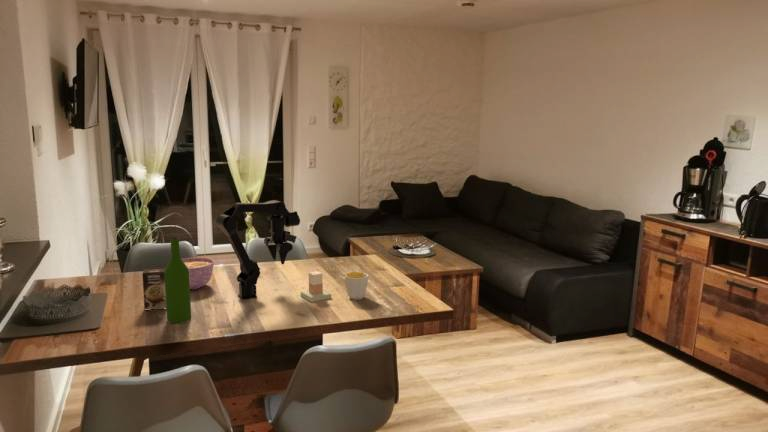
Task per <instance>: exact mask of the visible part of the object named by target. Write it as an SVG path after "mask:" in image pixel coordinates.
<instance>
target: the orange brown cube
mask: <svg viewBox="0 0 768 432" xmlns="http://www.w3.org/2000/svg"><path fill="white" fill-rule="evenodd" d="M323 285H324V283H322V284H316V285H312V284H311V283H309V282H308V290H309V293H311V294H313V295H316V294H321V293H323V290H324V286H323Z"/></svg>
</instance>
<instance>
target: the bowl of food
mask: <svg viewBox="0 0 768 432" xmlns="http://www.w3.org/2000/svg"><path fill="white" fill-rule="evenodd" d="M181 260H182V261H183V262H184V263H185V265H186V266H187V267H188V270H189V285H190V289H192V290H198V289H200V287H201V288H202V287H203V286H205V285H207V284H208V283H209V282H210V280H211V279H212V275H213V270H214V265H215V260H214V259H211V258H209V257H186V258H185V257H184V258H181ZM197 288H198V289H197Z"/></svg>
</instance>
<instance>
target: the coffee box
mask: <svg viewBox="0 0 768 432" xmlns="http://www.w3.org/2000/svg"><path fill="white" fill-rule="evenodd" d="M165 269H166V267H165V268H153V269H152V268H147V269H143V270H142V288H143V308H144V309H164V308H166V293H165V276H164V272H165ZM144 309H143V310H144ZM164 310H165V309H164Z"/></svg>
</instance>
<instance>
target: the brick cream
mask: <svg viewBox="0 0 768 432" xmlns="http://www.w3.org/2000/svg"><path fill="white" fill-rule="evenodd" d="M323 279H324V278H323V273H322V272H321V271H318V270H317V271H312V272H308V284H309V283H311V284H312V285H316V284H322V283H323ZM323 284H324V283H323Z"/></svg>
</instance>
